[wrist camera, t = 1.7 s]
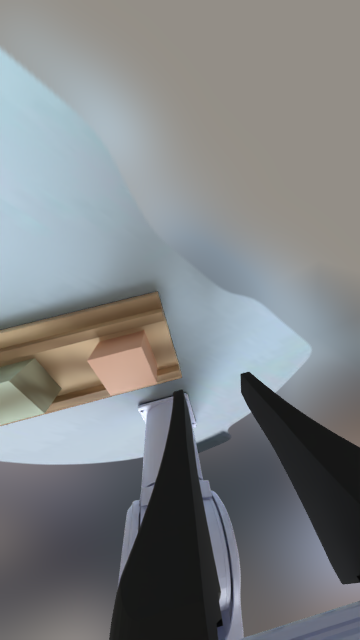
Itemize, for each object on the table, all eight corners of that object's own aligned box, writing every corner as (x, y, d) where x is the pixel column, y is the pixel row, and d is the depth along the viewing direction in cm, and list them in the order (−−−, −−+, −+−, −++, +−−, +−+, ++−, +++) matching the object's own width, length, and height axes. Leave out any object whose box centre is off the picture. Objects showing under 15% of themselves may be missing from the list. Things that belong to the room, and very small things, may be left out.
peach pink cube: (157, 363, 18) (156, 383, 15) (117, 373, 18) (110, 395, 15) (144, 330, 16) (141, 346, 13) (99, 341, 16) (86, 360, 13)
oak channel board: (180, 371, 21) (185, 397, 17) (-1, 419, 20) (-37, 457, 16) (157, 291, 15) (157, 304, 11) (-93, 353, 15) (-180, 388, 11)
